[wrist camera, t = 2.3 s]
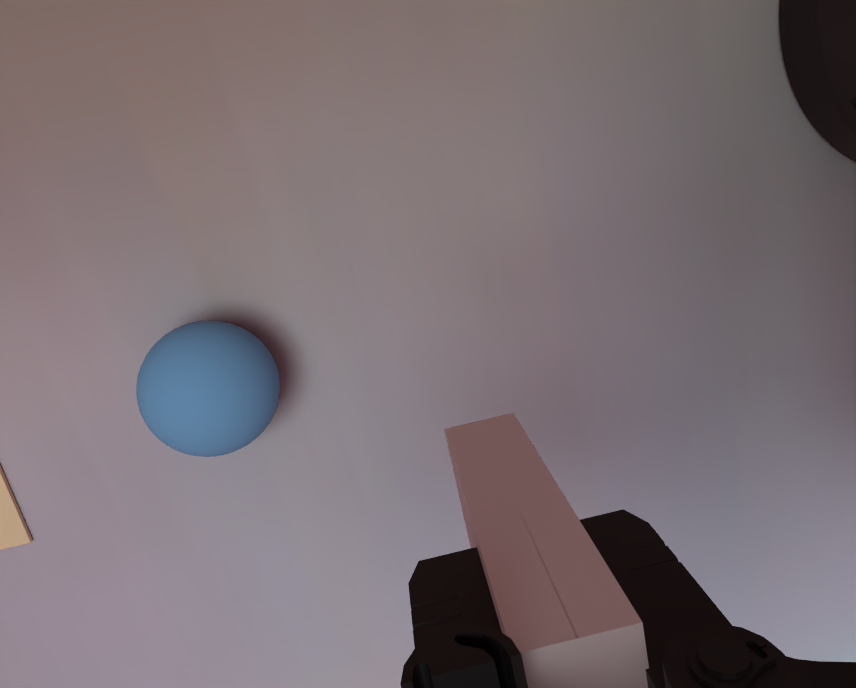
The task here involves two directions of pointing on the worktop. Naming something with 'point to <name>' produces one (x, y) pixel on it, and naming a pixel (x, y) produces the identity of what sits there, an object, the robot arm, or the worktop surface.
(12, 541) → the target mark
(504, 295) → the worktop surface
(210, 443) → the ball
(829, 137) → the robot arm
